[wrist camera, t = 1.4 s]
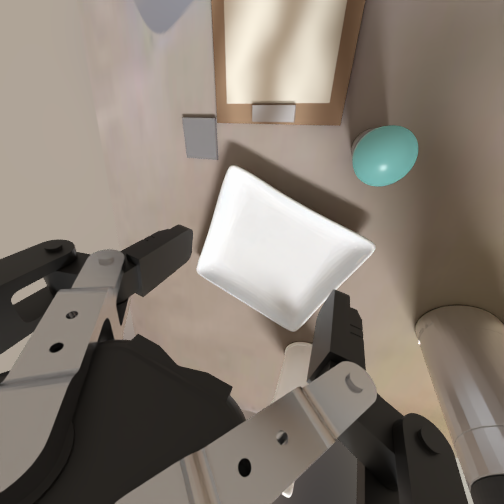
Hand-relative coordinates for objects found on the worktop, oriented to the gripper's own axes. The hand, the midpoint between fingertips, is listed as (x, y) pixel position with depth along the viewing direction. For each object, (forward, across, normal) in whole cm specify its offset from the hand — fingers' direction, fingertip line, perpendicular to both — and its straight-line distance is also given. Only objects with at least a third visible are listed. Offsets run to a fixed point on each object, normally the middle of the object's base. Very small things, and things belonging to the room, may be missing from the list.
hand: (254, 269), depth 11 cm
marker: (+20, -5, -6) cm, 22 cm away
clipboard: (+20, +8, -12) cm, 25 cm away
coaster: (+20, +16, -2) cm, 26 cm away
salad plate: (+21, +2, +12) cm, 24 cm away
